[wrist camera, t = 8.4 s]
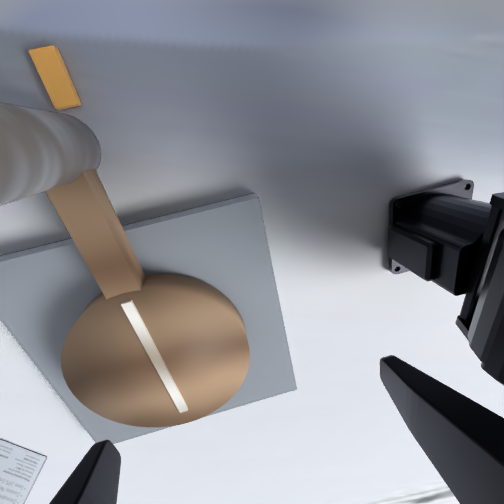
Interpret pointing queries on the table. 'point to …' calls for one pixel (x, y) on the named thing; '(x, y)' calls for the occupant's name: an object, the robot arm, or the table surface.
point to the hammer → (123, 290)
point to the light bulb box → (17, 472)
